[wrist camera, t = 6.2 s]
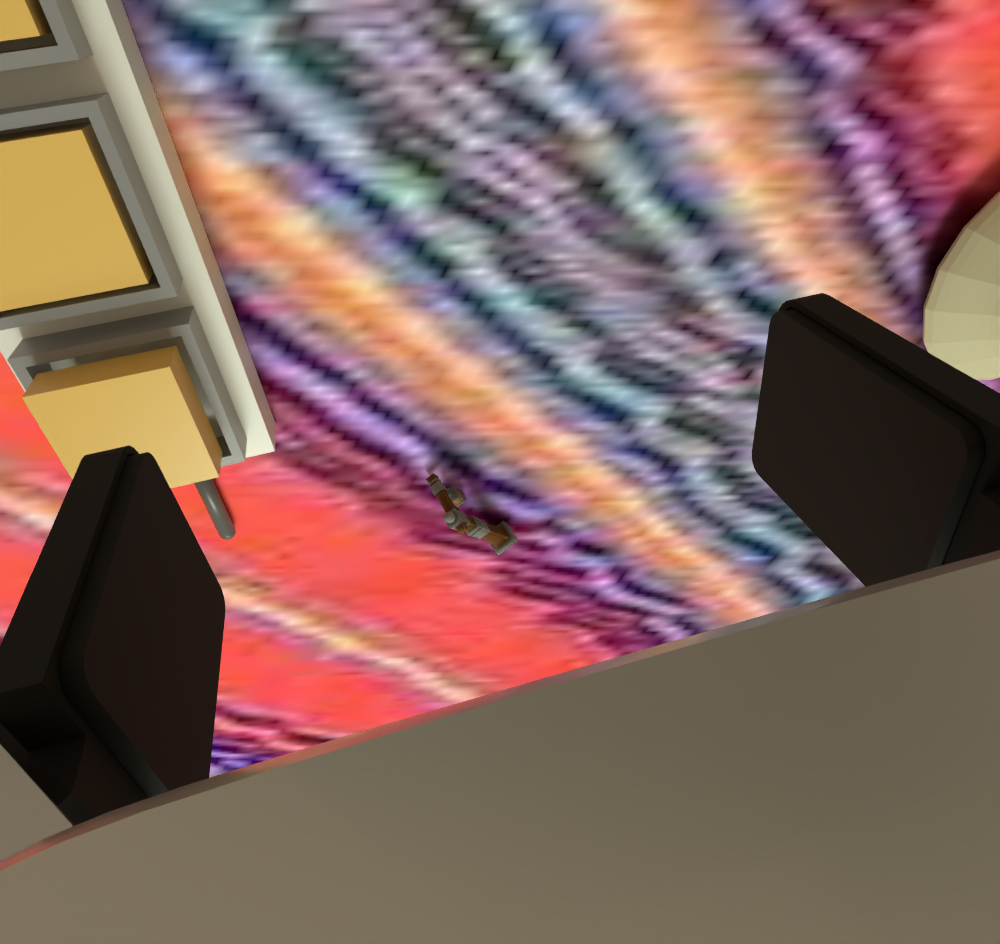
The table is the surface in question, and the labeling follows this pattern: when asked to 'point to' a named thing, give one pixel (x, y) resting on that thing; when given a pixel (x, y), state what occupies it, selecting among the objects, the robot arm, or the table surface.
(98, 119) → the strip
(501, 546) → the wooden post with brackets
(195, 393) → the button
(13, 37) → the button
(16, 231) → the button middle
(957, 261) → the handbell
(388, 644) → the table surface
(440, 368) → the table surface
